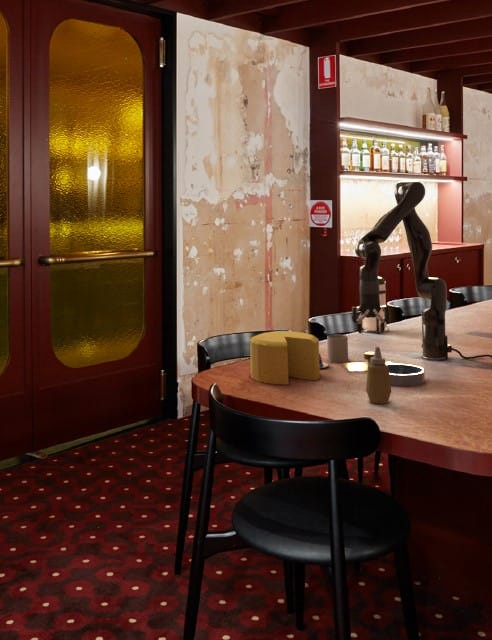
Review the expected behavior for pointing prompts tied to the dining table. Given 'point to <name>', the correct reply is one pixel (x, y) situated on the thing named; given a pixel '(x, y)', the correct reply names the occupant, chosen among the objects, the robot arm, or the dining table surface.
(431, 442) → the dining table surface
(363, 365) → the board
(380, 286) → the coffee press
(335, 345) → the cup
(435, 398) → the dining table surface
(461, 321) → the dining table surface
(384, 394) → the squeeze bottle
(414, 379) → the bowl
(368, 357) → the mushroom
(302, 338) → the cheese
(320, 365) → the pudding
